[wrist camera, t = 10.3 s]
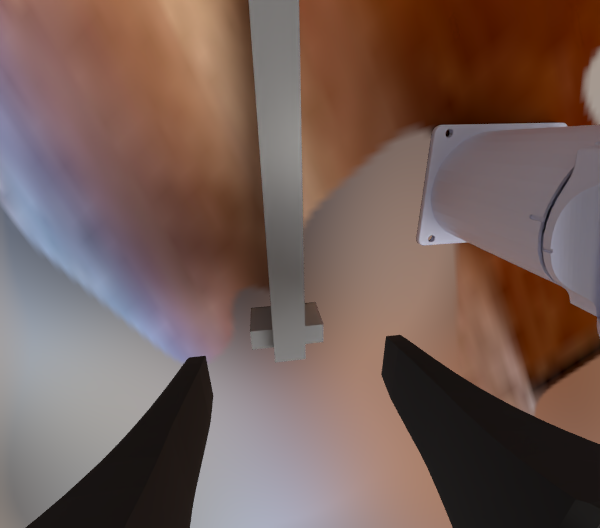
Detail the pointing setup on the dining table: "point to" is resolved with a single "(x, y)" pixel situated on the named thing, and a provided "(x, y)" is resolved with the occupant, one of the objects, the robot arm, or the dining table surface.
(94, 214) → the dining table surface
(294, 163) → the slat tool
